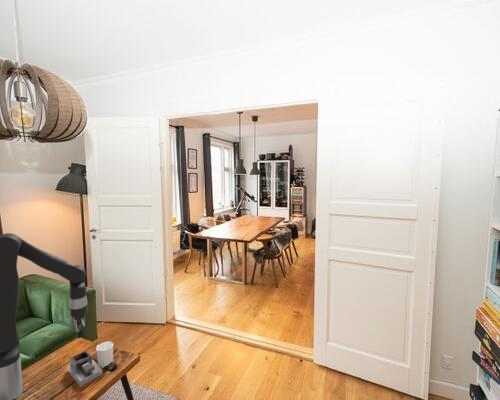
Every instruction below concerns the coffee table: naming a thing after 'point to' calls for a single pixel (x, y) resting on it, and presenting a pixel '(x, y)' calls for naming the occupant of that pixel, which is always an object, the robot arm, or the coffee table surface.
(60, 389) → the coffee table surface
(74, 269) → the robot arm
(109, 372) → the coffee table surface
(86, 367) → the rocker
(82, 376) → the grey switch box
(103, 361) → the white cup
